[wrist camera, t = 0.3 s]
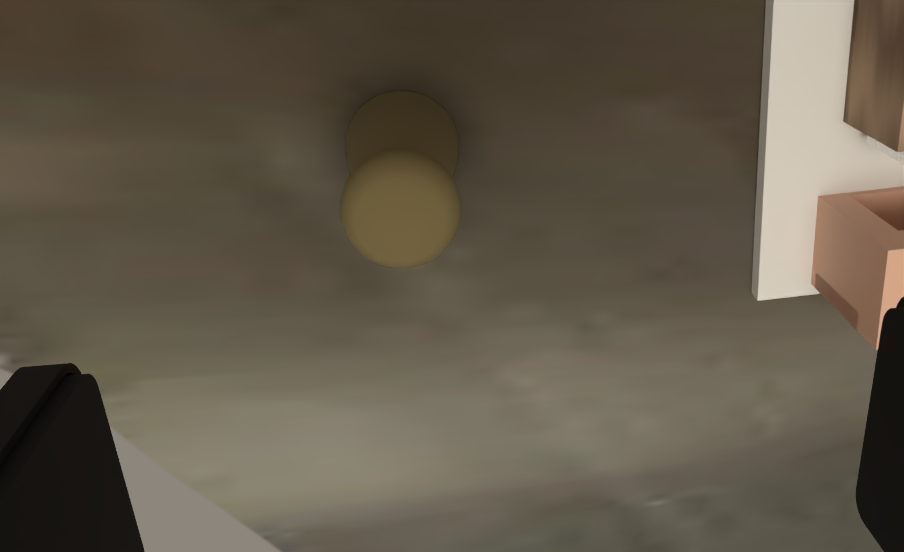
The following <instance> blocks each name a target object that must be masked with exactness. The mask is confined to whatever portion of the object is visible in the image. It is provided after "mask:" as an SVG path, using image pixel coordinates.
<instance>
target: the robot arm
mask: <svg viewBox="0 0 904 552" xmlns="http://www.w3.org/2000/svg"><path fill="white" fill-rule="evenodd" d="M856 503H857V507H858V511H859V514H860V516H861V519H862V521H863V522H864V524H865V525H866V527H867V528H868V530H869V531H870V532H871V534H872V535H873V537H874V538H875V539H876V541H877V542H878V544H879V545H880V546H881V548H882V549H883V551H884V552H904V297H902V298H901V299H900V301H899V302H898V304H897V306H896V308H890V309H889V310H887V311H886V313H885V315H884V317H883V321H882V327H881V333H880V339H879V346H878V352H877V359H876V365H875V371H874V378H873V384H872V391H871V397H870V403H869V410H868V416H867V423H866V429H865V435H864V442H863V448H862V455H861V461H860V468H859V474H858V480H857V487H856ZM0 552H144V548H143V544H142V540H141V537H140V533H139V530H138V526H137V523H136V519H135V516H134V512H133V508H132V505H131V501H130V498H129V494H128V490H127V487H126V483H125V480H124V477H123V473H122V470H121V466H120V462H119V458H118V455H117V451H116V448H115V444H114V441H113V437H112V434H111V430H110V426H109V423H108V419H107V416H106V412H105V409H104V405H103V401H102V398H101V394H100V391H99V387H98V384H97V382H96V380H95V378H94V377H93V376H92V375H90V374H81V372H80V371H79V369H78V368H77V366H75V365H74V364H72V363H68V364H55V365H43V366H31V367H21V368H19V369H18V370H17V371H16V372H15V373H14V374H13V375H12V376H11V378H10V379H9V380H8V381H7V382H6V384H5V385H4V386H3V387H2V389H1V390H0Z"/></svg>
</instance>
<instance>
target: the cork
mask: <svg viewBox="0 0 904 552" xmlns="http://www.w3.org/2000/svg"><path fill="white" fill-rule="evenodd" d="M345 142H346V158H347V163H348V168H349V172H350V176H349V177H348V178H347V180H346V183H345V186H344V190H343V193H342V196H341V200H340V217H341V222H342V224H343V227H344V230H345V232H346V235H347V237H348V239H349V240H350V242H351V243H352V244H353V245H354V247H355V248H356V249H357V250H358V252H359V253H360V254H362V255H363V256H365V257H366V258H368V259H369V260H371V261H372V262H374V263H376V264H380V265H383V266H386V267H389V268H412V267H415V266H419V265H422V264H426V263H428V262H429V261H431V260H432V259H434V258H435V257H437V256H439V255H440V254H441V253H442V252H443V251H444V250H445V248H446V247H447V246H448V245H449V244H450V242H451V241H452V240H453V238H454V236H455V233H456V231H457V228H458V226H459V223H460V219H461V200H460V196H459V193H458V189H457V186H456V183H455V180H454V179H453V176H454V172H455V168H456V165H457V161H458V157H459V137H458V134H457V131H456V127H455V124H454V122H453V120H452V119H451V118H450V116H449V115H448V113H447V112H446V110H445V109H444V108H443V107H442V106H440V105H439V104H438V103H436V102H435V101H434V100H432V99H431V98H430V97H427V96H424V95H421V94H419V93H416V92H413V91H391V92H388V93H385V94H382V95H378V96H376V97H374V98H373V99H371V100H370V101H368V102H367V103H366V104H364V105H363V106H361V108H360V109H359V110H358V112H357V113H356V114H355V116H354V117H353V118H352V120H351V122H350V125H349V128H348V131H347V134H346V137H345Z"/></svg>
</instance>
